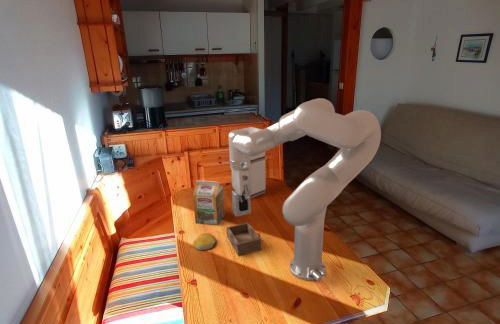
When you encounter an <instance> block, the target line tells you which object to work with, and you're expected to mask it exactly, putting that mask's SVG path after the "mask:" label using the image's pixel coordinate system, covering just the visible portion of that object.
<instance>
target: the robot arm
mask: <svg viewBox="0 0 500 324" xmlns="http://www.w3.org/2000/svg"><path fill="white" fill-rule="evenodd" d="M335 111H336V110H335V107H334V104H333V103H332V102H331V101H330V100H328V99H326V98H322V97H321V98H319V97H318V98H315V99H311V100H308V101H305V102H303V103H301V104H299V105H298V106H297V107H296V108H295V109H293V110H292V111H289V112H288V113H285V114H284V115H282V116H281V117H280V118H279V120H278V121H277V122H276V123H274V124H272V125H270V126H267V127H265V128H264V129H263V128H262V130H260V131H257V132H255V133H252V134H249V132H248V131H246V130H242V129H243V128H239V129H233V130H231V131H229V133H228V150H229V151H228V152H229V168H230V170H231V186H232V188H233V189H234V190H233V191H236V192H237V193H238V194H239V195H240V202H239V204H240V211H246V210H248V199H249V194H252V183H251V174H250V169H249V168H250V156H257V155H259V154H261V153H263V152H265V153H266V151H267V152H268V151H269V150H272V149H273V148H275V147H277V146H279V145H283V144H284V143H286V142H294V141H295V140H298V139H300V138H302V137H305V136H308V137H311V138H313V139H315V140H317V141H321V142H323V143H325V144H327V145H331V146H333V147H336V148H338V149H339V150H338V151H337V152H336V153H335V154H334V155H333V156H332V158H331V159H329V160H328V162H326V163H325V165H323V166H322V167H319V168H318V169H317V170H315V171H314V172H312V173H311V174H310V175H308V176H307V177H306V178H305V179H304V180H303V181H302V182H301V183H300V184H299V185H298V186H297V188H295V189H294V190H293V191H292V192H291V193H290V195H289V196H288V197H287V198H286V199H285V200H284V202H283V204H282V207H281V208H282V209H281V211H282V216H283V218H284V220H285V221H286V222H287V223H288V224H289V225H291V226H294V244H293V245H294V247H293V249H294V252H293V258H292V259H291V260H290V262H289V270H290V272H291V274H292V275H294V276H295V277H296V278H298V279H301V280H305V281H317V282H322V280H323V277H326V272H327V270H326V269H327V268H326V267H327V266H326V263H325V262H324V261H323V245H324V228H325V219H326V218H325V217H326V214H327V213H326V212H327V207H328V206H329V205H330V204H331V203H333V201H334V200H335V199H336V198H337V197H339V195H340V194H341V193H342V191H343V190H344V189H345V188H346V186H348V184H349V183H350V182H352V181H353V180H354V179H355V178H356V177H357V176H358V175H359V174H361V172H362V171H363V170H364V169H365V168H366V166H368V165H369V163H370V162H372V160H373V158H374V157H375V156H376V153H377V152H378V150H379V148H380V145H381V144H380V143H381V139H382V138H381V137H382V130H381V126H380V123H379V120H378V119H377V117H376V115H374V114H373V113H372V112H371V111H368V110H367V109H357V110H353V111H351V112H349V113H347V114H345V115H344V114H340V113H337V112H335ZM243 192H244V193H243ZM248 193H249V194H248ZM244 195H245V197H243V198H242V196H244Z"/></svg>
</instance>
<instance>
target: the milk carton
mask: <svg viewBox="0 0 500 324" xmlns="http://www.w3.org/2000/svg"><path fill="white" fill-rule="evenodd" d="M195 183H196V184H195V186H194V189H193V193H192V200H193V210H194V211H193V213H194V222H195V223H194V224H197V225H207V226H217V227H218V226H219V224H220V222H221V221H222V219H223V217H224V216H225V215H226V213H225V212H226V211H225V198H224V187H223V186H222V185H220V182H219V181H213V180H212V181H210V180H196V182H195Z"/></svg>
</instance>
